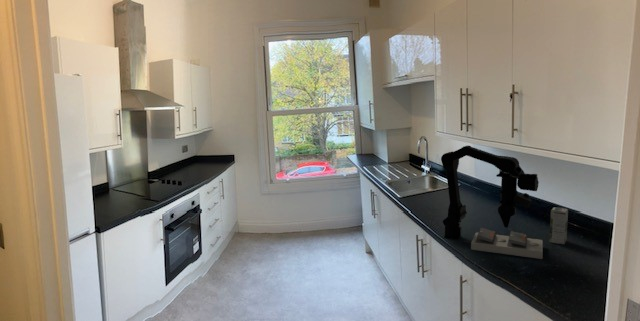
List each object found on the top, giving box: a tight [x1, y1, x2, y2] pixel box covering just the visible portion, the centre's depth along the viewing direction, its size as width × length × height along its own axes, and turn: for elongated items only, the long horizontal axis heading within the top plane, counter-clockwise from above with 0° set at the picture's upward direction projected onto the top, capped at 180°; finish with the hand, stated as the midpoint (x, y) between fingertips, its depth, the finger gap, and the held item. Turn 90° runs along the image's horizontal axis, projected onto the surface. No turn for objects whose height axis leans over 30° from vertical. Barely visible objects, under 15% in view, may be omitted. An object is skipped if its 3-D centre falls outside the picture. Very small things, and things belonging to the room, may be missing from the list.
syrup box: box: [548, 206, 569, 245], centre depth 161 cm, size 6×6×14 cm
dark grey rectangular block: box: [477, 227, 496, 242], centre depth 161 cm, size 6×11×1 cm, turn 150°
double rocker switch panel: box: [463, 232, 544, 260], centre depth 159 cm, size 30×14×3 cm, turn 60°
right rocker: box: [509, 230, 527, 246], centre depth 155 cm, size 6×11×1 cm, turn 150°
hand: (507, 224), depth 158 cm, fingers open, 9 cm apart
